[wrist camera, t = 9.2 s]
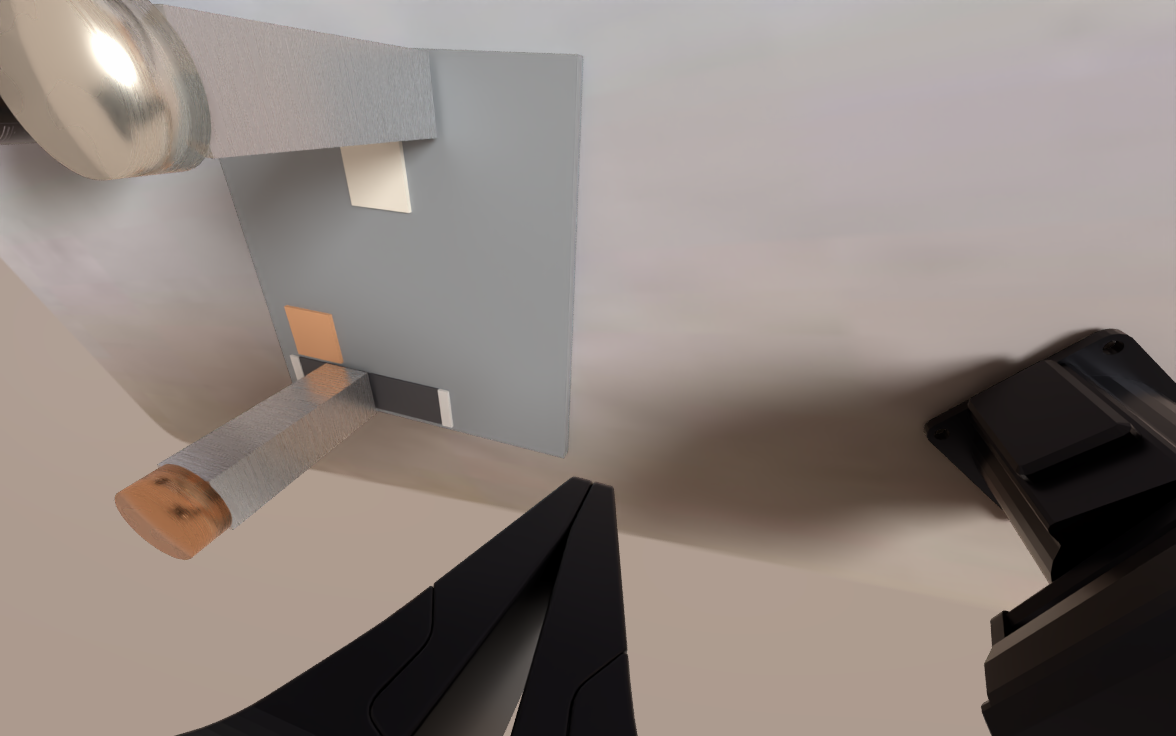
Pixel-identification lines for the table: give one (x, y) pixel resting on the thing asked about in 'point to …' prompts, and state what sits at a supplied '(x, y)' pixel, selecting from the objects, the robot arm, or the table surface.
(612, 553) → the robot arm
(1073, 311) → the table surface
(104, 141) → the lever
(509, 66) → the switch board
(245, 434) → the lever
